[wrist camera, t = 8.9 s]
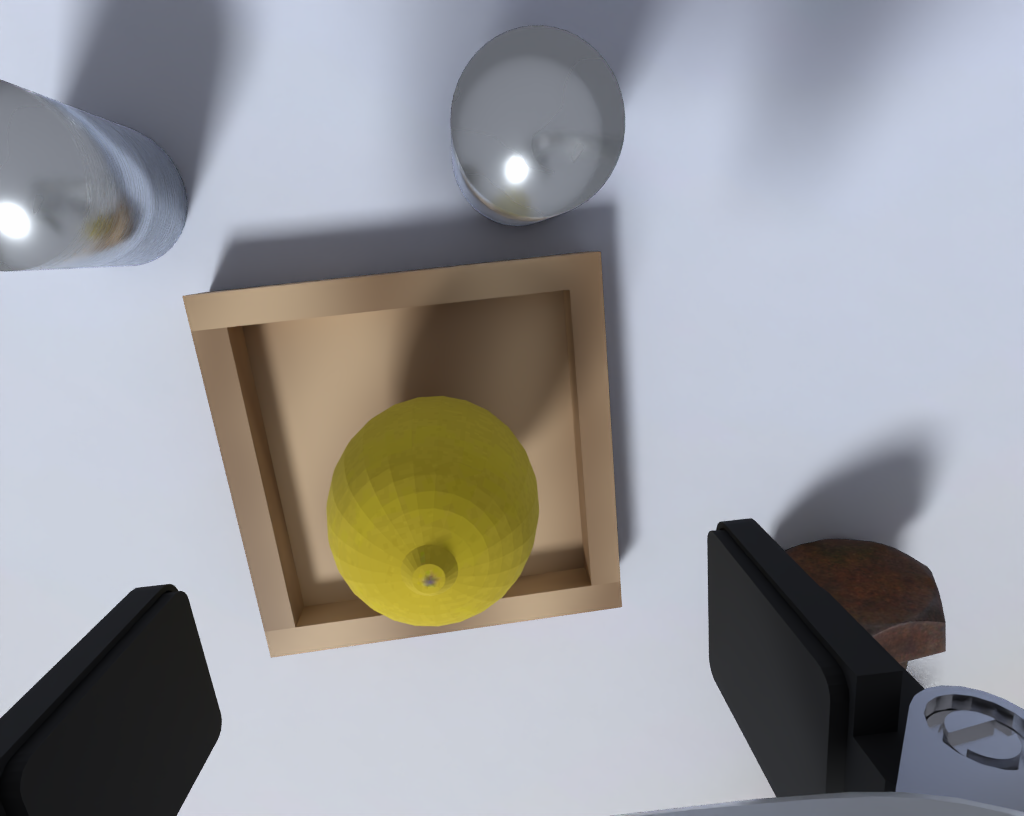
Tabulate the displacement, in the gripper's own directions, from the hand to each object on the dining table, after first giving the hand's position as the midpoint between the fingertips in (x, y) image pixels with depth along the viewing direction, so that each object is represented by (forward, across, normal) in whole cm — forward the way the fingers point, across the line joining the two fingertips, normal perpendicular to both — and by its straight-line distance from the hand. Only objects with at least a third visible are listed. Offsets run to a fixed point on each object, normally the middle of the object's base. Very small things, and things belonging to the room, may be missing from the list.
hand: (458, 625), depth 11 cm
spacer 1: (+10, +10, -9) cm, 16 cm away
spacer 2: (+10, -2, -9) cm, 14 cm away
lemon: (+10, +1, 0) cm, 10 cm away
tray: (+10, +2, 0) cm, 10 cm away
